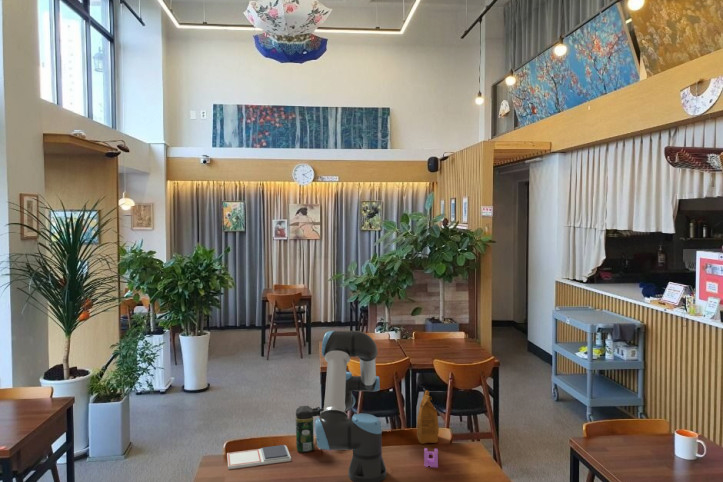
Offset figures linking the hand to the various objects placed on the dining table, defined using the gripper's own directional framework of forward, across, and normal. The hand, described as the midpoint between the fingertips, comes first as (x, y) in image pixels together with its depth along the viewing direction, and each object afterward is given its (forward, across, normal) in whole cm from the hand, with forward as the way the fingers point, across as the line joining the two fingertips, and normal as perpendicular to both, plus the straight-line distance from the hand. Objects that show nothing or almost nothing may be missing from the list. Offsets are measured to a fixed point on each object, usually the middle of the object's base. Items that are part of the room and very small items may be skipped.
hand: (311, 421), depth 233 cm
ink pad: (+18, +7, -9) cm, 22 cm away
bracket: (-8, -56, -11) cm, 57 cm away
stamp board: (+23, +12, -10) cm, 28 cm away
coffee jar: (+6, 0, -11) cm, 12 cm away
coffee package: (-29, -46, -11) cm, 56 cm away
